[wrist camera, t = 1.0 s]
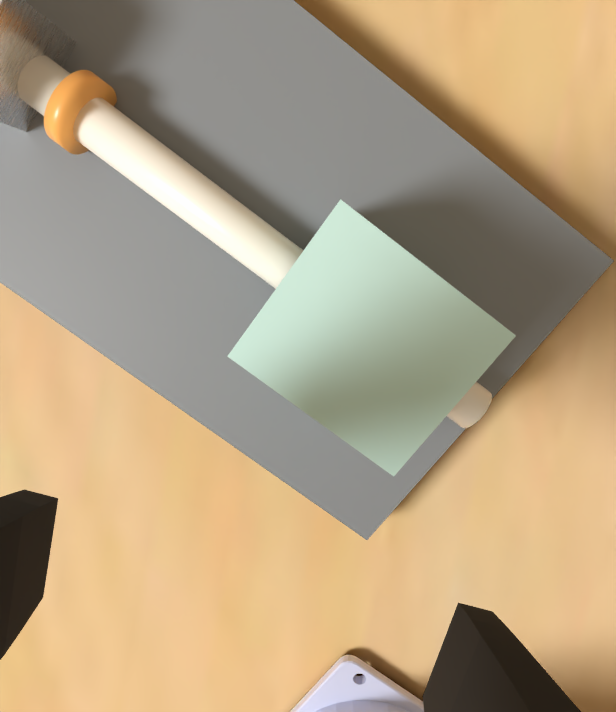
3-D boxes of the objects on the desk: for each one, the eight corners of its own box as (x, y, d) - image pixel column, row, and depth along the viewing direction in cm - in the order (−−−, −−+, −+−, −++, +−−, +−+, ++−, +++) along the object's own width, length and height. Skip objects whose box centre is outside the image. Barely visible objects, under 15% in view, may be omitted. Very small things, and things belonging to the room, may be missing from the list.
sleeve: (469, 312, 15) (516, 335, 11) (379, 420, 16) (393, 476, 12) (338, 212, 14) (340, 199, 11) (253, 329, 15) (227, 356, 11)
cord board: (588, 259, 16) (614, 260, 15) (364, 517, 18) (366, 540, 17) (78, -153, 14) (49, -199, 13) (-95, 191, 17) (-136, 187, 15)
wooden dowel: (487, 373, 16) (511, 392, 14) (444, 423, 16) (461, 450, 14) (-10, -6, 14) (-71, -52, 12) (-43, 61, 15) (-108, 29, 13)
